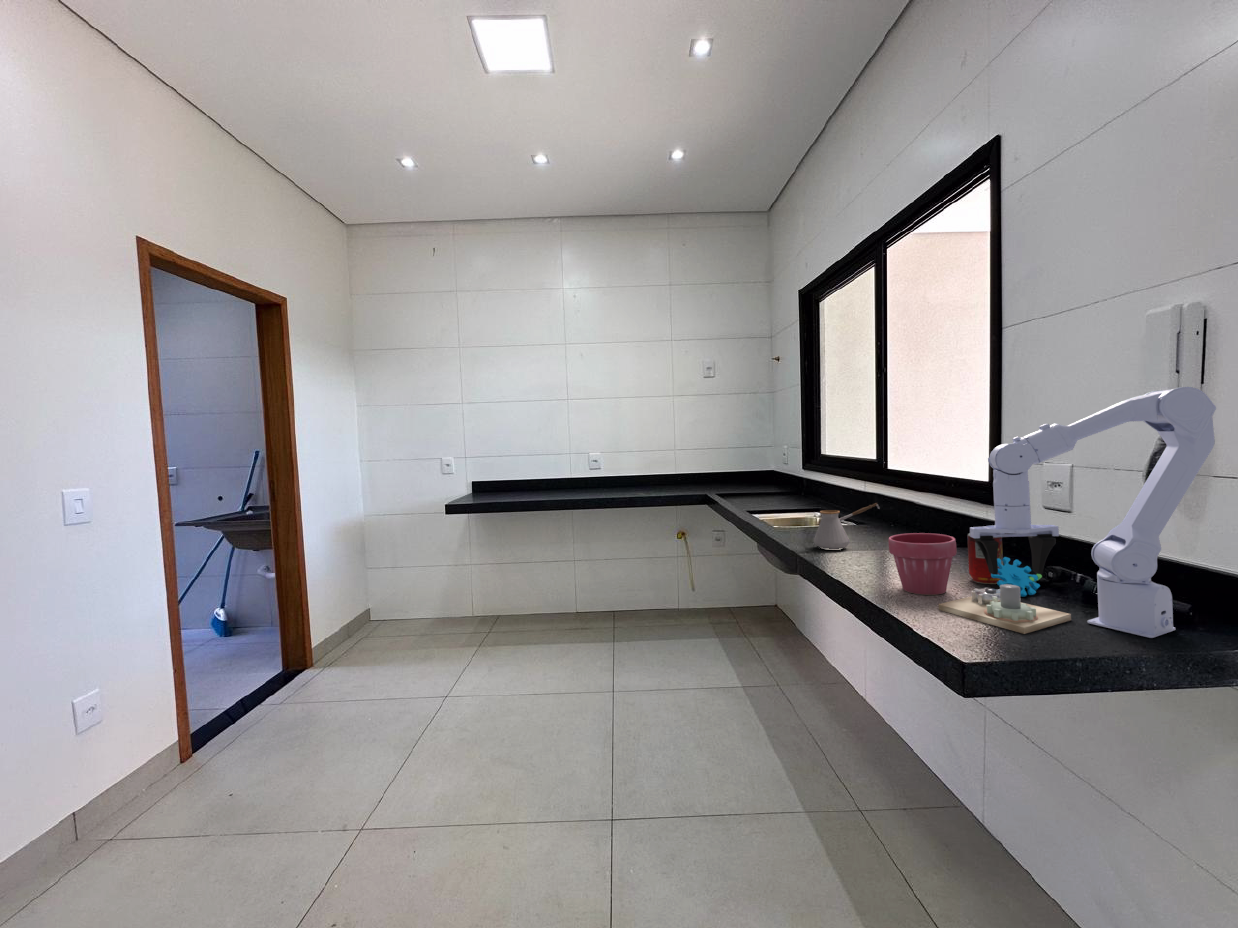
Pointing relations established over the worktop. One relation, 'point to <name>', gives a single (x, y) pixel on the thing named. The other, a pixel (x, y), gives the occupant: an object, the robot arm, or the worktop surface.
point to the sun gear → (985, 595)
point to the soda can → (981, 562)
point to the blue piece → (1017, 576)
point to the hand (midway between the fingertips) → (1015, 573)
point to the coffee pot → (834, 529)
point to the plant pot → (923, 561)
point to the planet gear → (1011, 605)
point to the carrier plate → (979, 613)
